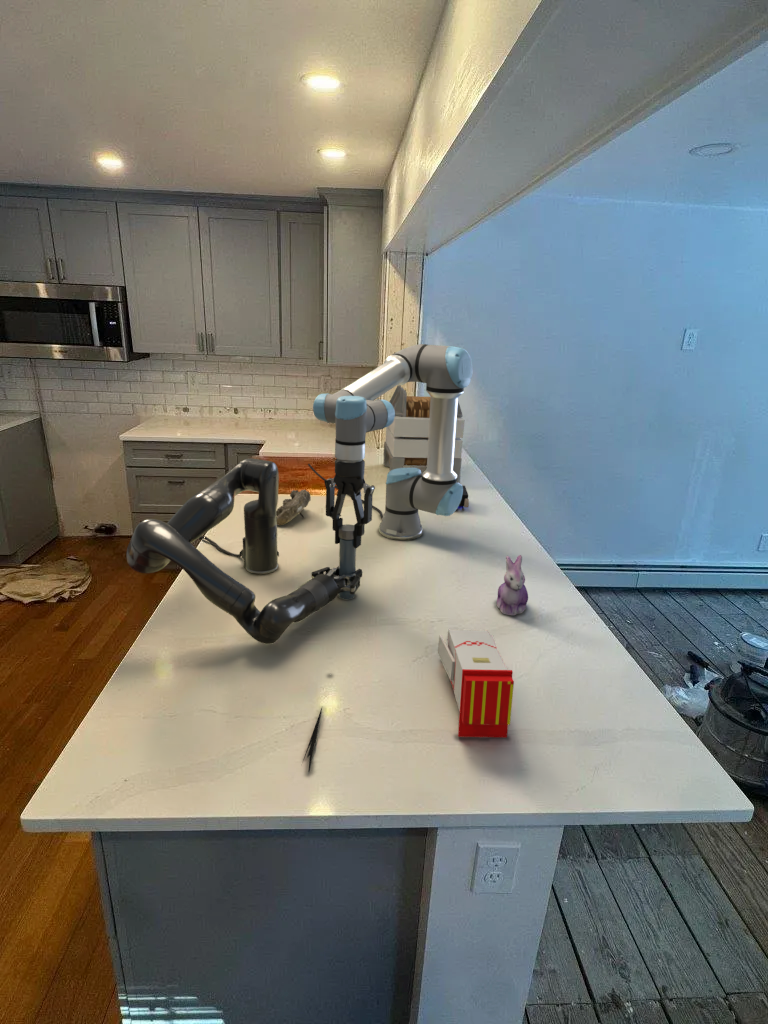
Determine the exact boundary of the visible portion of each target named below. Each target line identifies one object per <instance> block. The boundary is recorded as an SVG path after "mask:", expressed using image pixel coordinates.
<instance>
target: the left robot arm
mask: <svg viewBox="0 0 768 1024" xmlns="http://www.w3.org/2000/svg"><path fill="white" fill-rule="evenodd" d="M279 484H280V472H279V468H278V466H277V464H276V463H275V462H274V461H271V460H266V459H260V458H259V459H258V458H253V457H252V458H245V459H243V460H240V462H238V463H237V464H236V465H234V467H233V468H231V470H229V471H228V472H227V473H226V474H224V475H223V476H222V477H219V478H218V479H217V480H216V481H214V482H213V483H212V484H210V485H208V486H207V487H205V488H203V489H201V490H200V491H198V492H197V493H196V494H194V495H192V496H191V497H190V498H189V499H188V500H186V502H184V503H183V504H182V506H180V508H179V509H178V510H177V511H176V512H175V513H174V515H172V517H171V518H170V519H169V520H168V521H167V522H165V521H163V520H161V519H157V518H146V519H144V520H142V521H140V522H139V523H138V524H137V525H136V527H135V528H134V530H133V533H132V535H131V538H130V540H129V542H128V544H127V548H126V552H125V553H126V554H125V555H126V556H125V559H126V563H127V564H128V566H129V568H131V570H133V571H135V572H137V573H139V574H140V573H141V574H153V573H156V572H159V571H161V570H163V569H164V568H165V567H167V565H168V564H170V562H173V563H174V564H175V565H177V566H178V567H180V568H181V569H182V570H183V571H184V572H185V573H186V574H187V575H188V576H189V578H190V579H191V580H192V582H193V583H194V585H195V586H196V588H198V590H199V591H200V593H201V594H202V595H203V596H204V597H205V598H206V599H207V600H208V601H209V602H210V603H211V604H213V605H214V606H216V607H218V609H220V610H222V611H223V612H225V613H226V614H228V615H230V616H231V617H233V619H235V621H236V622H237V623H238V624H239V626H241V628H243V629H244V630H245V632H246V633H247V635H249V636H250V637H251V638H252V639H254V641H256V642H258V643H260V644H264V645H273V644H275V643H276V642H277V641H279V639H280V638H281V637H282V635H283V634H284V633H285V632H286V630H287V629H288V628H289V627H290V626H291V625H292V624H294V623H300V622H302V621H303V620H305V619H307V618H308V617H310V616H311V615H312V614H314V613H316V612H318V611H320V610H322V609H323V608H325V607H326V606H327V605H328V604H330V603H331V602H333V601H334V600H335V599H336V598H337V597H338V596H339V593H341V592H344V591H350V594H355V595H356V593H357V591H358V590H359V588H360V586H361V578H362V577H363V569H361V568H358V569H356V571H355V572H353V573H352V574H350V575H347V574H345V575H342V576H339V565H338V566H337V567H333V568H331V567H330V566H325V567H323V568H320V569H317V570H314V571H312V572H311V578H310V579H309V580H307V581H306V582H304V583H303V584H301V585H300V586H298V588H296V589H294V590H293V591H291V592H290V593H288V594H287V595H283V596H280V597H276V598H274V599H272V600H270V601H269V602H268V603H266V605H264V606H263V608H262V609H261V610H259V609H258V608H257V606H256V605H255V602H256V593H255V592H254V591H253V590H252V589H250V588H249V587H247V586H245V585H244V584H243V583H241V582H240V581H238V580H236V579H235V578H234V577H232V576H230V575H229V574H228V573H226V572H224V571H223V570H222V569H220V568H219V567H218V566H217V565H216V564H214V563H213V562H212V561H211V560H210V559H209V558H207V556H205V555H204V554H203V553H202V552H201V551H200V550H199V549H197V547H195V546H194V545H193V544H192V543H193V542H195V541H196V540H197V539H198V540H199V541H201V540H206V541H207V542H209V543H210V544H212V545H213V546H214V547H215V548H216V549H217V550H218V551H220V552H222V553H224V554H226V555H229V556H231V557H235V558H241V559H242V560H243V568H244V569H245V570H246V571H247V572H248V573H250V574H254V575H267V574H271V573H273V572H276V571H277V570H278V568H279V562H278V560H279V559H278V558H279V557H280V553H279V550H278V525H277V509H278V505H279V504H278V503H279V486H280V485H279ZM246 491H247V492H255V493H258V497H257V499H253V500H250V501H248V502H246V503H245V504H244V506H243V519H244V520H243V521H244V522H243V523H244V537H242V549H241V550H240V551H239V553H238V554H236V553H232V552H230V551H228V550H226V549H224V548H223V547H221V546H220V545H219V544H218V543H216V542H215V541H214V540H212V539H211V538H209V537H207V536H205V534H206V533H208V532H209V531H210V530H211V529H213V528H215V527H216V526H218V525H219V524H220V523H222V522H224V520H225V519H227V518H228V517H229V516H230V515H231V514H232V512H233V509H234V507H235V497H236V496H238V495H239V494H240V493H243V492H246ZM204 537H205V539H204ZM350 578H351V581H350Z"/></svg>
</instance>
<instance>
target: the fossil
mask: <svg viewBox="0 0 768 1024" xmlns="http://www.w3.org/2000/svg"><path fill="white" fill-rule="evenodd" d="M289 497H290V498H285V499H284V500H282V505H281V506H279V507H277V526H283V525H286V524H288V523H289V522H291V521H292V520H294V518H296V517H297V516H299V515H300V516H301V518H305V517H304V515H303V514H302V511H303V510H304V509H305V508H307V506H308V504H309V502H311V494H310V492H309V491H307V490H306V489H301V490H300V491H299V490H298V489H296V490H295V489H293V490H291V492H290V495H289Z"/></svg>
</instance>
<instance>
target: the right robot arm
mask: <svg viewBox="0 0 768 1024" xmlns="http://www.w3.org/2000/svg"><path fill="white" fill-rule="evenodd" d="M473 368H474V367H473V361H472V357H471V355H470V354H469V352H468V351H467V350H466V349H465V348H464V347H458V346H454V345H441V344H440V345H438V344H426V343H419V344H414V345H411V346H408V347H405V348H403V349H400V350H398V351H396V352H394V353H392V354H391V355H389V356H388V357H386V358H385V360H384V361H383V363H382V364H381V365H379V366H377V367H375V368H374V369H372V370H371V371H369V372H367V373H366V374H364V375H362V376H361V377H359V378H357V379H356V380H354V381H353V382H351V383H350V384H348V385H346V386H344V387H343V388H342V389H339V390H338V391H336V392H335V393H332V394H331V393H319V394H318V395H317V396H316V397H315V398H314V401H313V403H312V410H313V415H314V417H315V418H316V419H317V420H318V421H321V422H324V423H326V424H335V438H334V441H335V443H334V458H335V460H334V473H335V474H334V476H333V478H332V477H329V478H327V479H326V478H325V477H323V476H322V475H321V474H320V473H319V472H317V470H315V468H314V467H313V466H312V465H311V464H310V463H308V464H307V466H308V467H309V468H310V469H311V470H312V471H313V473H314V474H315V475H316V476H318V477H319V478H320V479H321V480H323V483H324V487H325V516H326V517H329V518H331V519H332V520H331V521H332V526H331V527H332V531H334V544H335V545H339V539H340V537H339V527H340V526H341V525H344V524H343V523H344V522H343V521H344V519H343V517H342V510H343V506H344V503H345V500H346V496H349V497H350V500H351V501H352V504H353V508H354V514H355V519H356V523H355V524H353V525H354V548H356V549H358V548H359V547H360V546H362V536H364V535H365V526H366V525H367V524H369V523H370V522H372V520H373V509H374V510H375V511H377V512H378V513H379V516H380V518H381V522H379V526H378V533H379V534H380V535H381V536H382V537H385V538H387V539H389V540H395V541H410V540H415V539H418V538H420V537H421V536H422V535H423V525H422V524H421V518H420V515H419V511H423V512H426V513H430V514H433V515H436V516H443V517H450V516H452V515H453V514H454V513H455V512H457V511H456V509H457V510H458V509H459V508H458V506H459V504H460V502H461V499H462V495H463V487H462V485H463V484H462V483H461V482H459V483H457V474H456V473H455V472H454V471H453V462H454V448H455V434H456V420H457V406H458V402H459V397H460V396H461V395H462V394H464V389H465V388H467V387H468V386H469V385H470V383H471V381H472V378H473V373H474V371H473ZM407 383H422V384H425V385H426V386H425V391H426V393H427V394H428V395H429V397H431V399H430V417H429V436H428V454H427V466H426V469H425V470H424V471H422V470H421V468H418V467H404V468H398V469H394V470H391V471H390V470H388V472H387V475H386V480H385V504H384V505H385V507H384V508H385V509H384V513H383V512H382V510H381V509H379V508H378V507H376V506H374V505H373V494H374V491H375V489H376V487H375V485H372V484H371V485H370V484H368V483H367V482H366V480H365V470H366V469H365V467H366V466H365V465H366V461H365V460H364V459H365V457H366V435H367V433H371V432H374V431H379V430H380V431H381V430H383V429H386V427H388V426H390V425H391V424H392V422H393V421H394V418H395V411H394V408H393V406H392V404H391V403H390V402H389V401H388V400H387V399H379V398H380V397H382V396H383V395H384V394H386V393H387V392H389V391H391V390H392V389H394V388H395V387H397V386H398V385H400V386H404V385H405V384H407ZM362 489H363V493H364V495H363V499H362ZM336 490H337V492H336ZM335 495H336V499H335Z"/></svg>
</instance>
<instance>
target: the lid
mask: <svg viewBox="0 0 768 1024" xmlns="http://www.w3.org/2000/svg"><path fill="white" fill-rule="evenodd" d="M354 525H355V524H350V523H349V524H347V523H346V524H343V525H341V526H340V527H339V537H340V538H341V539H345V540H352V539H354Z"/></svg>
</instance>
